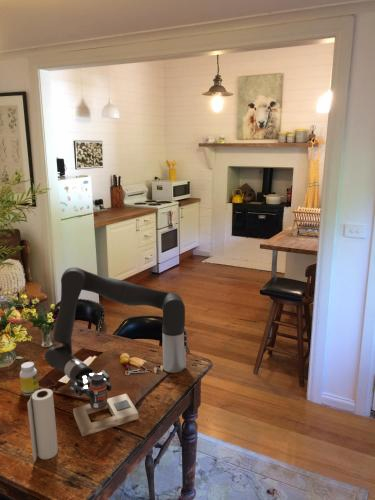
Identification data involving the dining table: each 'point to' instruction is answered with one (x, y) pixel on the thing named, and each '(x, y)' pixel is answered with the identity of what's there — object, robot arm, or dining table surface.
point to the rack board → (120, 413)
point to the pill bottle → (28, 378)
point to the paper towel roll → (42, 424)
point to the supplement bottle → (98, 392)
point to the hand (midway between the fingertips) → (101, 392)
